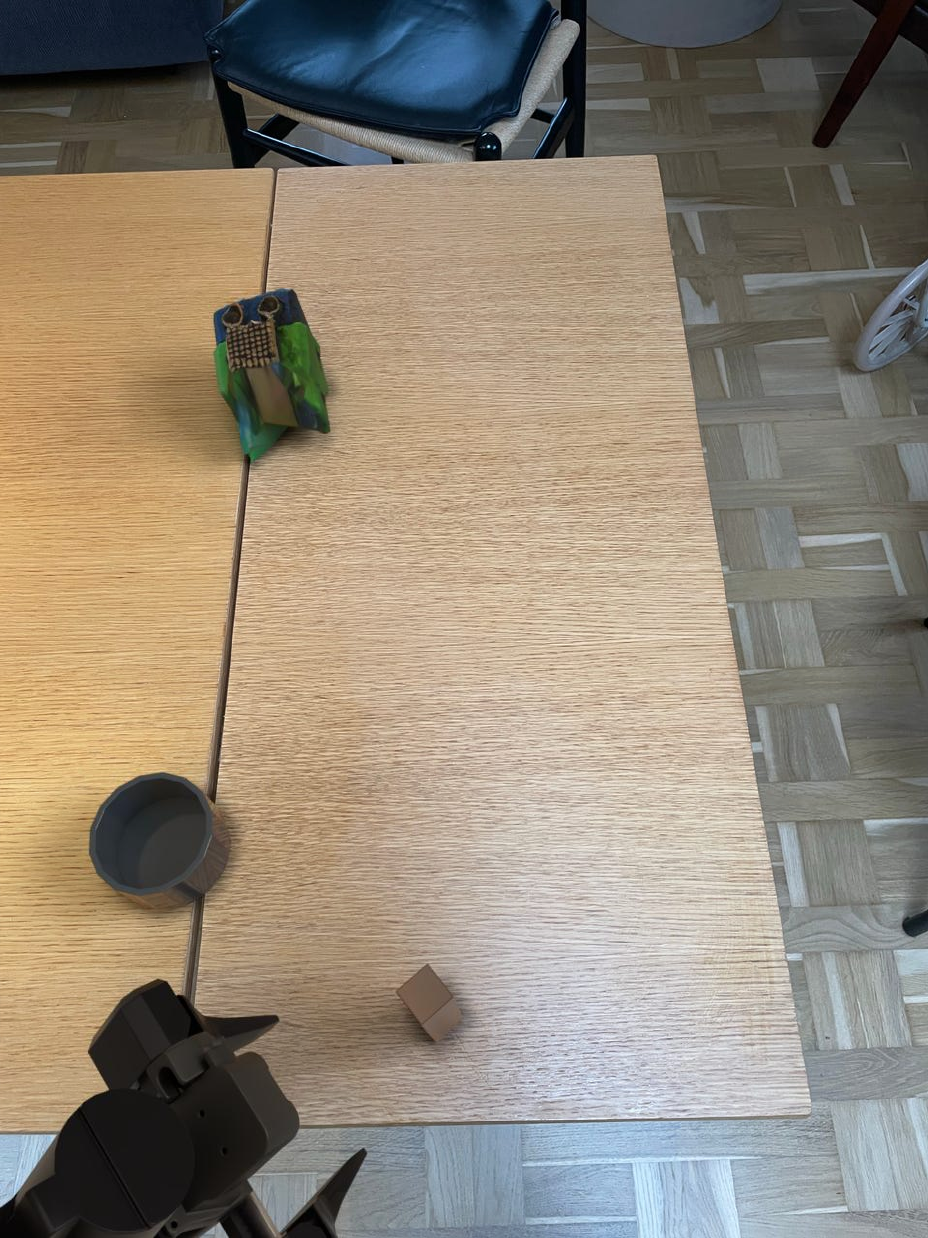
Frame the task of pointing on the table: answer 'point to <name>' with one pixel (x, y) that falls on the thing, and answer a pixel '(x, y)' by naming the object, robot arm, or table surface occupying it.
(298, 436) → the table surface
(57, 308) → the table surface
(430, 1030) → the brown rectangular bar
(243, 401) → the sculpture
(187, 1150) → the robot arm
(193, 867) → the cup
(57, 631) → the table surface
